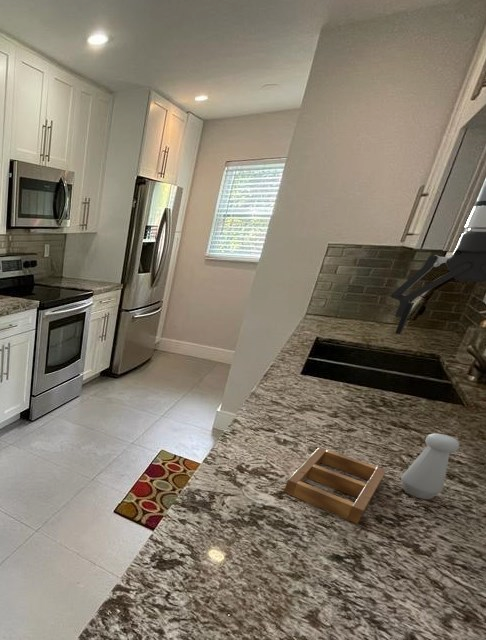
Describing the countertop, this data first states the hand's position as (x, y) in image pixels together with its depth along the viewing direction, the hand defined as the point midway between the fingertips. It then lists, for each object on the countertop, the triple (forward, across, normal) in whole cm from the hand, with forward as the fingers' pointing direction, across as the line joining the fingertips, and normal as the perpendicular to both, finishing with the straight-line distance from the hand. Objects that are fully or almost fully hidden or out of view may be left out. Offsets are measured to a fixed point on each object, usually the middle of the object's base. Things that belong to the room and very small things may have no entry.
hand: (443, 340), depth 85 cm
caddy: (+29, -5, -24) cm, 38 cm away
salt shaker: (+29, +6, -13) cm, 32 cm away
